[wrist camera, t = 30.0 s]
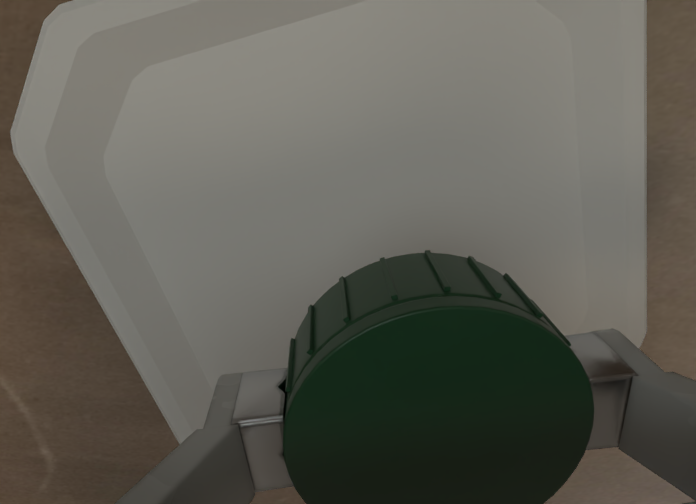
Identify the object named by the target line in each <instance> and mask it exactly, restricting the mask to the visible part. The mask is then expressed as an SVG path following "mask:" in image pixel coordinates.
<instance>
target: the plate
mask: <svg viewBox="0 0 696 504" xmlns="http://www.w3.org/2000/svg"><path fill="white" fill-rule="evenodd" d="M10 134H11V141H12V147H13V153H14V155H15V157H16V159H17V160H18V162H19V164H20V166H21V167H22V169H23V171H24V173H25V174H26V176H27V178H28V180H29V181H30V183H31V185H32V187H33V188H34V190H35V192H36V194H37V195H38V197H39V199H40V201H41V202H42V204H43V206H44V208H45V209H46V211H47V213H48V215H49V216H50V218H51V220H52V222H53V223H54V225H55V227H56V229H57V230H58V232H59V234H60V236H61V237H62V239H63V241H64V243H65V244H66V246H67V248H68V250H69V251H70V253H71V255H72V257H73V258H74V260H75V262H76V264H77V265H78V267H79V269H80V271H81V272H82V274H83V276H84V278H85V279H86V281H87V283H88V285H89V286H90V288H91V290H92V292H93V293H94V295H95V297H96V299H97V300H98V302H99V304H100V306H101V307H102V309H103V311H104V313H105V314H106V316H107V318H108V320H109V321H110V323H111V325H112V327H113V329H114V330H115V332H116V334H117V336H118V337H119V339H120V341H121V343H122V344H123V346H124V348H125V350H126V351H127V353H128V355H129V357H130V358H131V360H132V362H133V364H134V365H135V367H136V369H137V371H138V372H139V374H140V376H141V378H142V379H143V381H144V383H145V385H146V386H147V388H148V390H149V392H150V393H151V395H152V397H153V399H154V400H155V402H156V404H157V406H158V407H159V409H160V411H161V413H162V414H163V416H164V418H165V420H166V421H167V423H168V425H169V427H170V429H171V430H172V432H173V434H174V436H175V437H176V439H177V441H178V443H179V444H181V443H182V442H183V441H184V440H185V439H186V438H187V437H189V436H190V435H191V434H192V433H193V432H194V431H195V430H196V429H203V427H204V424H205V421H206V417H207V414H208V411H209V407H210V404H211V401H212V397H213V394H214V391H215V387H216V384H217V381H218V378H219V377H220V376H221V375H224V374H233V373H244V372H251V371H261V370H272V369H282V368H287V367H288V357H289V347H290V340H291V338H293V339H295V336H296V334H297V331H298V329H299V327H300V325H301V323H302V321H303V320H304V318H305V316H306V314H307V313H308V307H309V306H310V305H314V304H315V303H316V301H317V300H318V299H319V298H320V297H321V296H322V295H323V294H324V293H326V292H327V291H328V290H329V289H330V288H331V287H332V286H334V285H335V284H336V283H338V282H339V278H340V277H342V276H343V277H346V276H348V275H350V274H351V273H353V272H355V271H356V270H358V269H360V268H363V267H364V266H367V265H369V264H372V263H374V262H377V261H380V258H382V257H385V259H387V258H390V257H394V256H400V255H406V254H412V253H425V250H430V252H431V253H442V254H451V255H456V256H461V257H466V258H468V256H472V257H474V259H475V260H476V261H477V262H480V263H483V264H485V265H487V266H489V267H491V268H493V269H495V270H496V271H498V272H499V273H501V274H502V275H504V274H505V273H507V274H508V275H509V276H510V277H511V278H512V279H513V280H514V281H515V282H516V283H517V285H518V286H519V287H520V288H521V289H522V290H523V291H524V293H525V294H526V295H527V296H528V297H529V298H530V299H531V300H533V301H534V302H535V303H536V304H537V306H538V307H539V308H540V309H541V310H542V311H543V312H544V313H545V315H546V316H547V317H548V318H549V319H550V320H551V321H552V323H553V324H554V325H555V326H556V327H557V328H558V329H559V330H560V332H561V333H562V334H563V335H572V334H580V333H589V332H590V331H597V330H604V329H611V328H613V329H616V330H618V331H620V332H621V333H622V334H623V335H624V336H625V337H626V338H627V339H629V340H630V341H631V342H632V343H633V344H634V345H635V346H636V347H637V348H640V346H641V344H642V342H643V340H644V337H645V335H646V333H647V0H73V1H70V2H66V3H63V4H60V5H58V6H57V8H56V9H55V10H54V11H53V12H52V13H51V14H50V15H49V16H48V17H47V18H46V19H45V20H44V22H43V25H42V28H41V32H40V35H39V38H38V41H37V45H36V48H35V51H34V55H33V58H32V61H31V65H30V68H29V71H28V75H27V78H26V81H25V85H24V88H23V91H22V95H21V98H20V101H19V105H18V108H17V111H16V115H15V118H14V121H13V125H12V128H11V131H10Z"/></svg>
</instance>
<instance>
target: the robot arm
mask: <svg viewBox="0 0 696 504" xmlns="http://www.w3.org/2000/svg"><path fill="white" fill-rule="evenodd" d="M564 336H565V337H566V338H567V340H568V341H569V342H570V343H571V346H570V348H571V350H572V351H573V352H574V354H575V355H576V356H577V358H578V359H579V360H580V362H581V364H582V366H583V368H584V370H585V372H586V374H587V376H588V378H589V382H590V385H591V389H592V392H593V401H594V421H593V428H592V432H591V436H590V440H589V443H588V445H587V448H586V450H591V449H601V448H611V447H619V449H620V450H621V451H623V452H624V453H626V454H627V455H629V456H630V457H632V458H633V459H634V460H636V461H637V462H639V463H640V464H642V465H643V466H645V467H646V468H648V469H649V470H651V471H652V472H654V473H655V474H657V475H658V476H660V477H661V478H663V479H664V480H666V481H667V482H669V483H670V484H672V485H673V486H675V487H676V488H678V489H679V490H681V491H682V492H684V493H685V494H687V495H688V496H690V497H691V498H692V499H694V500H695V501H696V381H695V380H692V379H690V378H687V377H685V376H682V375H679V374H677V373H674V372H666V373H665V372H664V371H663V370H662V369H661V368H660V367H658V366H657V365H656V364H655V363H654V362H653V361H652V360H651V359H650V358H649V357H647V356H646V355H645V354H644V353H643V352H642V351H641V350H640V349H639V348H637V347H636V346H635V345H634V344H633V343H632V342H631V341H630V340H629V339H627V338H626V337H625V336H624V335H623V334H622V333H621V332H620V331H618V330H616V329H613V328H611V329H604V330H597V331H590V332H589V333H580V334H572V335H564ZM286 378H287V368H282V369H272V370H261V371H251V372H244V373H233V374H224V375H221V376H220V377H219V378H218V381H217V384H216V387H215V391H214V394H213V397H212V401H211V404H210V407H209V411H208V414H207V417H206V421H205V424H204V427H203V429H196V430H195V431H194V432H193V433H192V434H191V435H190V436H189V437H187V438H186V439H185V440H184V441H183V442H182V443H181V444H180V445H179V446H178V447H176V448H175V449H174V450H173V451H172V452H171V453H170V454H169V455H168V456H166V457H165V458H164V459H163V460H162V461H161V462H160V463H159V464H158V465H157V466H155V467H154V468H153V469H152V470H151V471H150V472H149V473H148V474H147V475H145V476H144V477H143V478H142V479H141V480H140V481H139V482H138V483H137V484H136V485H134V486H133V487H132V488H131V489H130V490H129V491H128V492H127V493H126V494H124V495H123V496H122V497H121V498H120V499H119V500H118V501H117V502H116V503H115V504H249V503H250V502H251V500H252V499H253V497H254V496H255V492H259V491H266V490H272V489H279V488H285V487H292V486H294V485H293V483H292V481H291V479H290V477H289V474H288V471H287V468H286V464H285V461H284V453H283V429H284V418H285V407H286V396H287V392H286V391H285V388H286ZM684 504H696V502H692V503H684Z"/></svg>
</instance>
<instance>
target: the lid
mask: <svg viewBox="0 0 696 504" xmlns="http://www.w3.org/2000/svg"><path fill="white" fill-rule="evenodd" d="M570 346H571V343H570V342H569V341H568V340H567V338H566V337H565V336H564V335H563V334H562V333H561V332H560V330H559V329H558V328H557V327H556V326H555V325H554V324H553V323H552V321H551V320H550V319H549V318H548V317H547V316H546V315H545V313H544V312H543V311H542V310H541V309H540V308H539V307H538V306H537V304H536V303H535V302H534V301H533V300H531V299H530V298H529V297H528V296H527V295H526V294H525V293H524V291H523V290H522V289H521V288H520V287H519V286H518V285H517V283H516V282H515V281H514V280H513V279H512V278H511V277H510V276H509V275H508V274H507V273H505V274H504V275H502V274H501V273H499V272H498V271H496V270H495V269H493V268H491V267H489V266H487V265H485V264H483V263H480V262H477V261H476V260H475V259H474V257H472V256H468V258H466V257H461V256H456V255H451V254H442V253H431V252H430V250H425V253H412V254H406V255H400V256H394V257H390V258H387V259H385V257H382V258H380V261H377V262H374V263H372V264H369V265H367V266H364V267H363V268H360V269H358V270H356V271H355V272H353V273H351V274H350V275H348V276H346V277H343V276H342V277H340V278H339V282H338V283H336V284H335V285H334V286H332V287H331V288H330V289H329V290H328V291H327V292H326V293H324V294H323V295H322V296H321V297H320V298H319V299H318V300H317V301H316V303H315V304H314V305H310V306H309V307H308V313H307V314H306V316H305V318H304V320H303V321H302V323H301V325H300V327H299V329H298V331H297V334H296V336H295V339H293V338H291V340H290V347H289V357H288V367H287V378H286V388H285V391H286V392H287V396H286V407H285V418H284V429H283V453H284V461H285V464H286V468H287V471H288V474H289V477H290V479H291V481H292V483H293V485H294V487H295V489H296V490H297V492H298V493H299V495H300V496H301V497H302V499H303V500H304V502H305V503H306V504H543V503H545V502H546V501H547V500H548V499H549V498H550V497H552V496H553V495H554V494H555V493H556V492H557V491H558V490H559V489H560V488H561V487H562V485H563V484H564V483H565V482H566V481H567V480H568V478H569V477H570V476H571V474H572V473H573V472H574V470H575V469H576V467H577V465H578V464H579V462H580V460H581V458H582V457H583V455H584V453H585V450H586V448H587V445H588V443H589V440H590V436H591V432H592V428H593V421H594V401H593V392H592V389H591V385H590V382H589V378H588V376H587V374H586V372H585V370H584V368H583V366H582V364H581V362H580V360H579V359H578V358H577V356H576V355H575V354H574V352H573V351H572V350H571V348H570Z"/></svg>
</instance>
